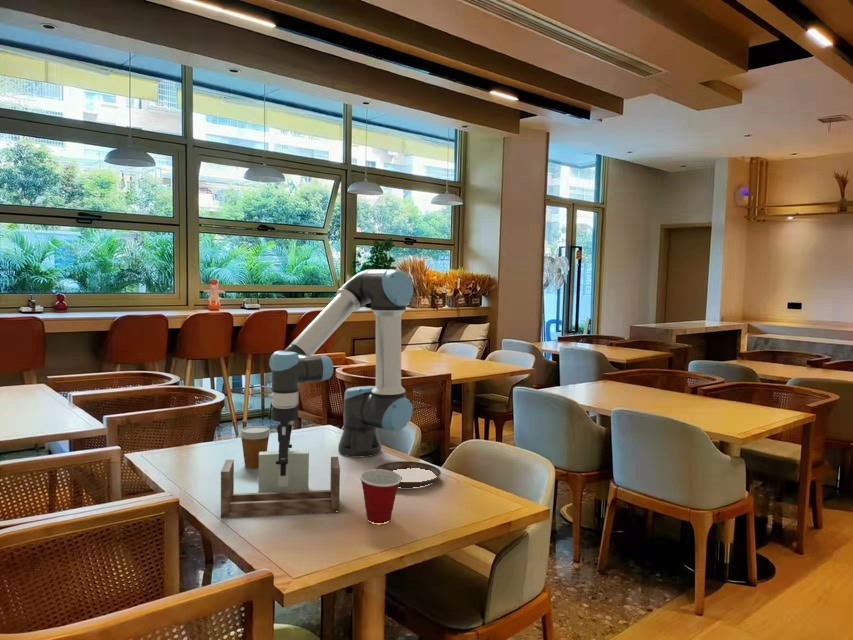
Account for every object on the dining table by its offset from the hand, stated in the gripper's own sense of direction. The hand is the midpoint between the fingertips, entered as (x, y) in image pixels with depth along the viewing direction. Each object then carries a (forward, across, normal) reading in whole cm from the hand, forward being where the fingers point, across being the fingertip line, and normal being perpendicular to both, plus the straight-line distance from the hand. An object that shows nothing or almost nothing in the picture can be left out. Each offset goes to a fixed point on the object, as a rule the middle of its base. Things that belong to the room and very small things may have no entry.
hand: (283, 478), depth 177 cm
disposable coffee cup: (+4, -23, -10) cm, 25 cm away
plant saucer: (+4, -4, +37) cm, 37 cm away
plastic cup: (+4, +26, +25) cm, 36 cm away
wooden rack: (+3, +14, 0) cm, 14 cm away
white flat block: (+3, 0, 0) cm, 3 cm away
